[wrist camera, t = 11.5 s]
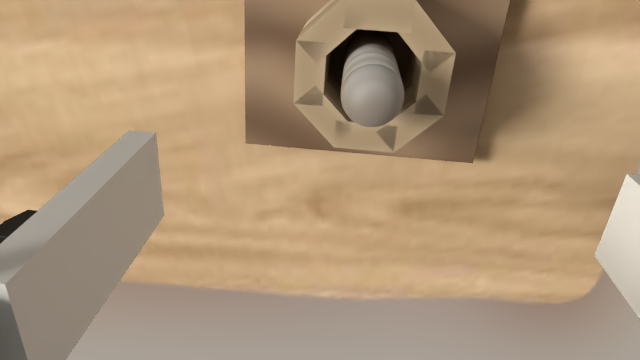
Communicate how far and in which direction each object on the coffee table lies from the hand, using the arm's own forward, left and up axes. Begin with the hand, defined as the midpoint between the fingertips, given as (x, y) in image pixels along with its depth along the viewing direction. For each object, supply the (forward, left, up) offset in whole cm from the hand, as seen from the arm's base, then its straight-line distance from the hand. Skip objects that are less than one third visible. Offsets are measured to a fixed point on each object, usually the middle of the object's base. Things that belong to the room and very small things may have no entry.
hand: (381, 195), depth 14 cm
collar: (0, 0, -19) cm, 19 cm away
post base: (0, 0, -21) cm, 21 cm away
